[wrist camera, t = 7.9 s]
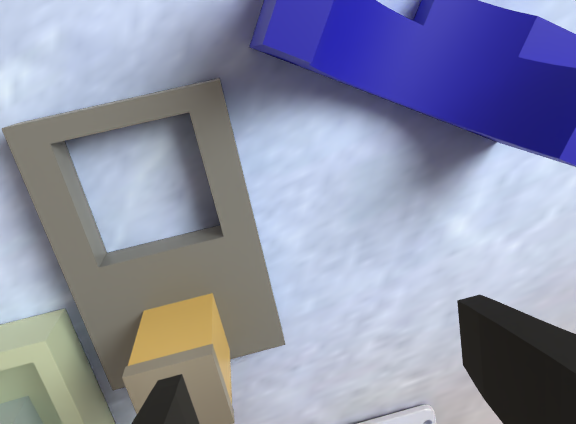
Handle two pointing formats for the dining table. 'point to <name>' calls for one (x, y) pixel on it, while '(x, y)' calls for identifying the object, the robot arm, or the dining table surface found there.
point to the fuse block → (158, 256)
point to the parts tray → (50, 370)
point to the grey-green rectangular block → (19, 412)
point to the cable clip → (441, 63)
